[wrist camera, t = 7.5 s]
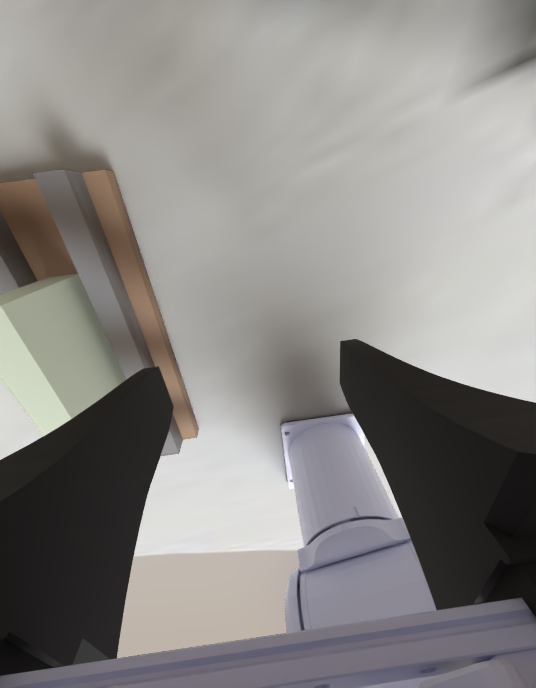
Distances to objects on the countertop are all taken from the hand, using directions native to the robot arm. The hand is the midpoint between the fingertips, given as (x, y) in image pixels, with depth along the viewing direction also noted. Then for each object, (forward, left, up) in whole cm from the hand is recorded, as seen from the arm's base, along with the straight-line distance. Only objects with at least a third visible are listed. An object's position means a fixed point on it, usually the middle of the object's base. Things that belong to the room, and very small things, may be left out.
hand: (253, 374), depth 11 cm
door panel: (-2, +11, -8) cm, 14 cm away
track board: (-2, +11, -9) cm, 15 cm away
